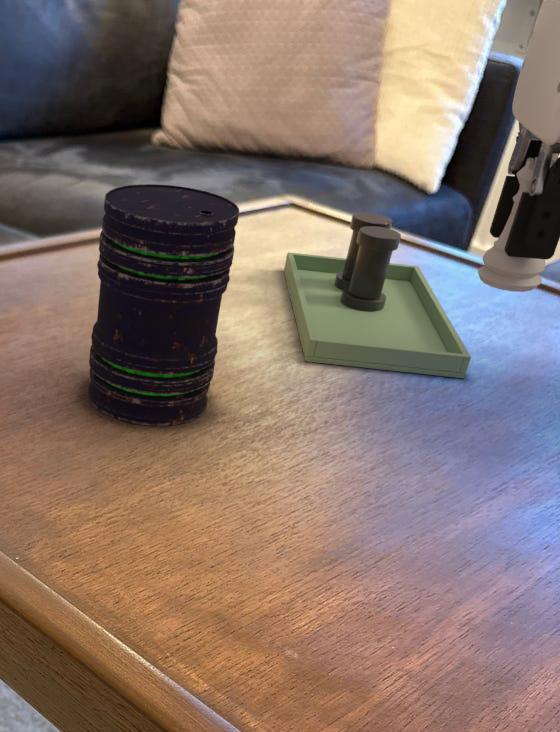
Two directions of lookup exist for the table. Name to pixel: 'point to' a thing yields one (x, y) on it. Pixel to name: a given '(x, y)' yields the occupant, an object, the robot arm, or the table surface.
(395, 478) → the table surface
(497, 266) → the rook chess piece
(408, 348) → the piece tray
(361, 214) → the black piece
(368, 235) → the black piece
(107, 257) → the dark barrel
